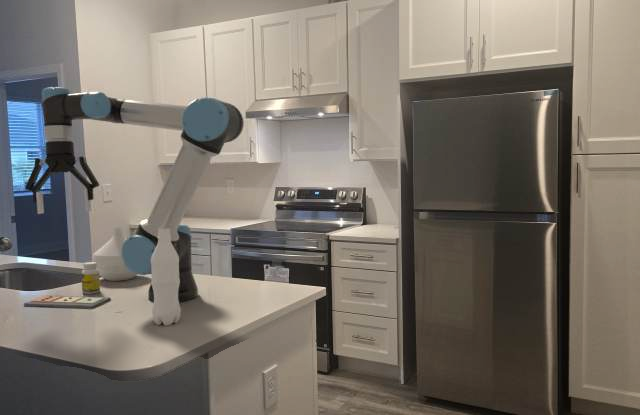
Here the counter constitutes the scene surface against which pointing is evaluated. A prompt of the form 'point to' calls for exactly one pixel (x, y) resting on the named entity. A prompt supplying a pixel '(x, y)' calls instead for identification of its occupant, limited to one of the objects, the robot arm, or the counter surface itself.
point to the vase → (112, 259)
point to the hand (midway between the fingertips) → (64, 212)
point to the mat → (68, 301)
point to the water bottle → (165, 280)
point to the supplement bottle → (90, 278)
